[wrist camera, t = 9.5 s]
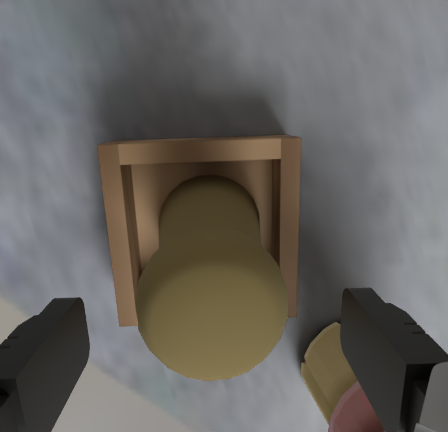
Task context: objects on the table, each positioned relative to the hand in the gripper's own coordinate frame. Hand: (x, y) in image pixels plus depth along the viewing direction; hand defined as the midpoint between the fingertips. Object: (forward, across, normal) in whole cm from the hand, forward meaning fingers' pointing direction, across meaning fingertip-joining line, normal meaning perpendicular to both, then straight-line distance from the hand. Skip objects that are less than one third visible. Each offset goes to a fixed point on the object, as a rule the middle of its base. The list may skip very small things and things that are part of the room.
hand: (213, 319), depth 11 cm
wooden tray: (+11, +1, 0) cm, 11 cm away
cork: (+11, 0, 0) cm, 11 cm away
